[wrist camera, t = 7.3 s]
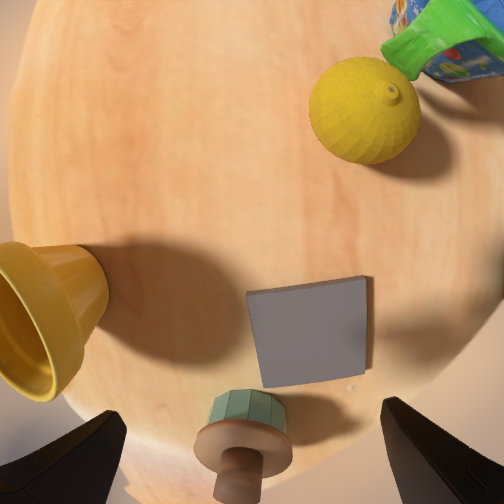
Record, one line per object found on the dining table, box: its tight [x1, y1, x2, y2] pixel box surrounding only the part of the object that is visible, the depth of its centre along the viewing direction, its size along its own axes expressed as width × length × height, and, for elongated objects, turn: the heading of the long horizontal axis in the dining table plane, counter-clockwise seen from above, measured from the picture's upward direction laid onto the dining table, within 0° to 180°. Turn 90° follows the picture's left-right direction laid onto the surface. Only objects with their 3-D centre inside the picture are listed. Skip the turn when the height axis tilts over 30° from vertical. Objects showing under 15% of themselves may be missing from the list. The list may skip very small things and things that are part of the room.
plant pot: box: [0, 242, 109, 402], centre depth 16 cm, size 10×10×10 cm
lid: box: [194, 419, 293, 504], centre depth 16 cm, size 8×8×5 cm
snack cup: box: [380, 0, 504, 83], centre depth 9 cm, size 16×10×10 cm
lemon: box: [309, 57, 421, 165], centre depth 12 cm, size 6×6×8 cm
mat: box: [246, 275, 367, 388], centre depth 19 cm, size 8×8×1 cm
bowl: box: [206, 389, 286, 434], centre depth 20 cm, size 7×7×4 cm
